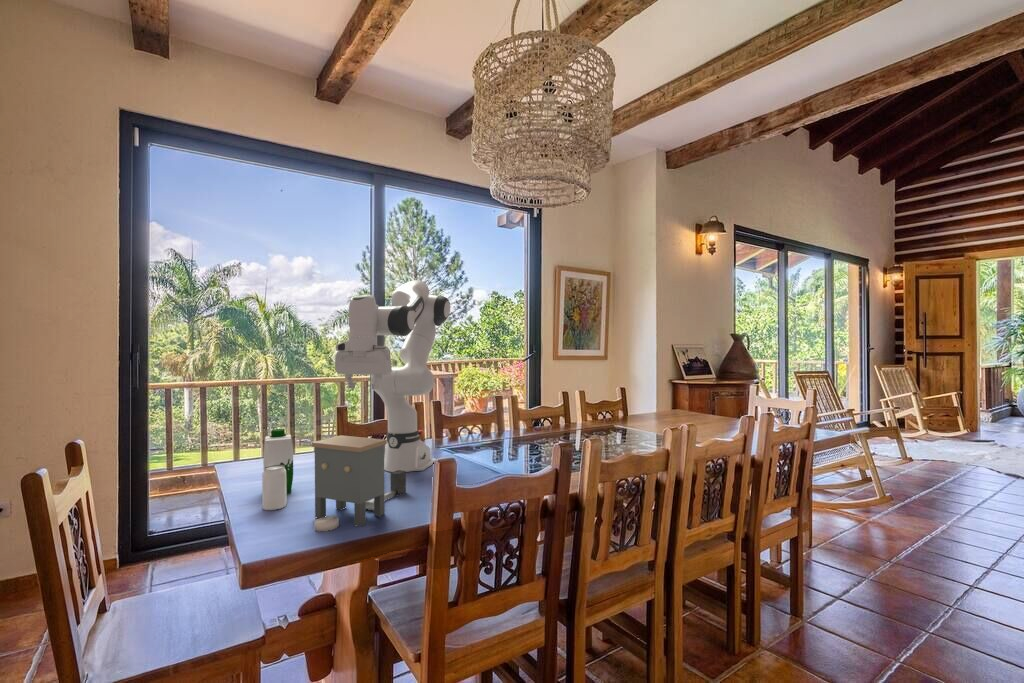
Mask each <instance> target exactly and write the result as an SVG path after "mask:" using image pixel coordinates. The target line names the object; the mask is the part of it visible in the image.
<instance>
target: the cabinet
mask: <svg viewBox="0 0 1024 683" xmlns="http://www.w3.org/2000/svg"><path fill="white" fill-rule="evenodd" d="M387 443H388V442H387V439H384V438H383V439H382V438H374V437H373V438H372V437H371V438H370V437H364V436H363V437H361V436H360V437H359V436H351V435H343V434H342V435H340V434H339V435H337V436H332V437H328V438H324V439H320V440H316V441H313V442H311V447H312V448H314V518H315V517H317V518H322V517H325V516H326V517H327V500H332V501H333V500H334V501H335V509H336V508H337V509H336V510H339V509H342V510H344V509H343V508H345V507H346V508H347V503H351V504H353V506H354V526H355V525H357V526H356V527H360V526H361V527H363V526H364V524H365V525H366V519H367V518H366V517H367V516H366V511H367V510H365V502H366V501H370V500H372V499H374V511H373V515H376V516H375V517H379V516H381V515H382V516H384V515H385V506H386V504H385V501H384V494H385V470H384V459H385V446H386V445H387ZM346 508H345V509H346ZM383 514H384V515H383ZM382 516H381V517H382ZM317 518H316V519H317ZM362 525H363V526H362Z"/></svg>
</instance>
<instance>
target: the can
mask: <svg viewBox="0 0 1024 683" xmlns="http://www.w3.org/2000/svg"><path fill="white" fill-rule="evenodd" d="M284 467H285V466H284V465H271V466H267V467H264V466H263V471H262V475H261V476H262V478H261V482H262V485H261V486H262V490H261V491H262V492H261V493H262V495H261V496H262V509H263V510H264V509H265V511H267V510H273V511H277V510H276V509H279V510H281V509H280V508H282V509H284V508H286V506H287V505H288V504H287V502H288V501H287V500H288V499H287V495H288V494H287V487H286V470H285V468H284ZM283 507H284V508H283Z"/></svg>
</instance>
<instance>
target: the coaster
mask: <svg viewBox="0 0 1024 683" xmlns="http://www.w3.org/2000/svg"><path fill="white" fill-rule="evenodd" d="M339 523H340V522H339V517H338V516H333V515H329V516H326V517H322V518H319V519H317V518H316V519H315V520H314V524H313V525H314V530H315V531H316V530H317V531H316V532H320V531H324V532H329V531H328V530H330V531H333V530H332V529H334V530H336V529H337V527H338V526H340V525H339ZM335 528H336V529H335ZM338 528H339V527H338Z"/></svg>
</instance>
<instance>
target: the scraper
mask: <svg viewBox="0 0 1024 683" xmlns="http://www.w3.org/2000/svg"><path fill="white" fill-rule="evenodd" d="M406 473H407V472H406V471H402V470H397V471H394V472H390V474H389V476H390V491H388V492H386V493H384V500H386V499H388V498H390V499H392V498H394V497H396V496H395V495H400V494H402V495H403V493H404V494H405V492H406V493H407V477H406V476H407V474H406ZM393 496H394V497H393ZM400 496H401V495H400ZM391 497H392V498H391ZM388 500H389V499H388ZM386 501H387V500H386ZM365 509H368V510H367V511H371V510H374V498H373V499H371V500H369V501H366V502H365Z"/></svg>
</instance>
